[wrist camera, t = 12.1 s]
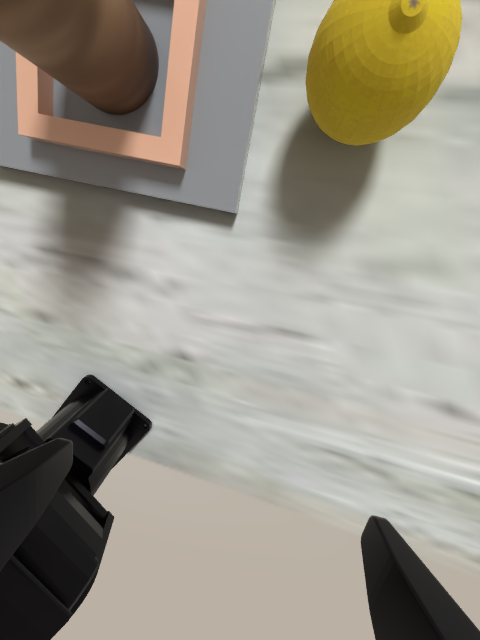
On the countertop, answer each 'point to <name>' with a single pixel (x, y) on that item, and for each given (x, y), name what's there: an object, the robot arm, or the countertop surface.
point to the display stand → (151, 110)
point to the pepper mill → (86, 48)
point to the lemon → (379, 65)
